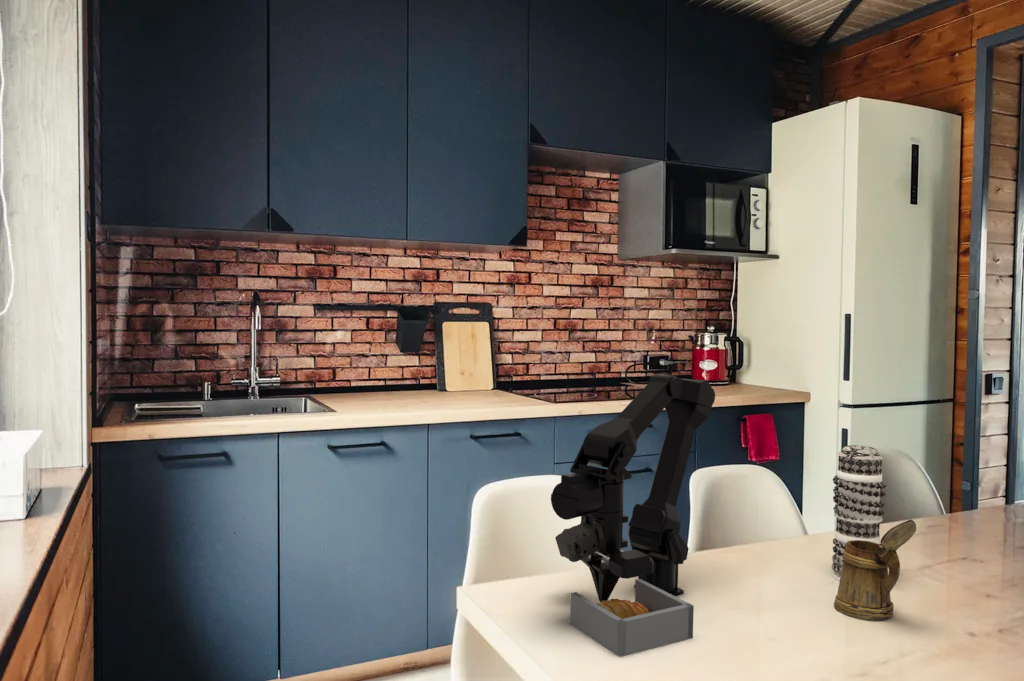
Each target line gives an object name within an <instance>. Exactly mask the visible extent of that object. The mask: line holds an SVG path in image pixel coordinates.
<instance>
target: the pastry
mask: <svg viewBox="0 0 1024 681" xmlns="http://www.w3.org/2000/svg"><path fill="white" fill-rule="evenodd" d="M596 604H597V605H599V606H601V607H602V608H604V609H606V610H608V611H609V612H611V613H613V614H614V615H616V616H618V617H619V618H621V619H624V618H629V617H633V616H637V615H642V614H646V613H649V610H648V609H647V608H646V607H645V606H644V605H643V604H641V603H639V602H635V601H632V600H628V599H619V598H609V599H608V600H602V601H601V602H600V601H599V602H596Z"/></svg>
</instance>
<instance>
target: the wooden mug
mask: <svg viewBox="0 0 1024 681" xmlns="http://www.w3.org/2000/svg"><path fill="white" fill-rule="evenodd" d="M916 532H917V524H916V522H915V521H914V520H913V519H908V520H906V521H903V522H901V523H899V524H897V525H895V526H893V527H891V528H890V529H888V531H887V532H886V533H885V534H883V535H882V537H881V538H880V544H881V545H880V544H877V543H874V542H870V541H862V540H853V541H848V542H847V545H846V550H844V553H843V557H842V558H843V560H844V561H843V566H842V572H841V577H840V581H839V582H838V587H837V588H838V589H837V593H836V595H835V598H834V603H833V607H834V608H835V610H836V611H838V612H839V613H841V614H844V615H846V616H849V617H852V618H855V619H859V620H865V621H883V620H888V619H891V617H893V615H894V603H893V601H891V591H892V590H893V588H894V587H895V586H896V584H897V582H898V580H899V577H900V573H901V562H900V559H899V558H900V557H899V555H898V553H897V552H898V551H897V550H898V549H900V547H901V546H904V545H905V544H906V543H908V541H909V540H911V538H912V537H913V536H914V535H915V533H916Z"/></svg>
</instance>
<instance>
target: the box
mask: <svg viewBox="0 0 1024 681" xmlns="http://www.w3.org/2000/svg"><path fill="white" fill-rule="evenodd" d="M634 582H635V583H634V585H635V588H634V602H639V603H641V604H643V605H644V606H645V607H646V608H647V609H648V610H649V613H646V614H642V615H637V616H633V617H629V618H624V619H621V618H619V617H618V616H616V615H614V614H613V613H611V612H609V611H608V610H606V609H604V608H602V607H601V606H599V605H597V604H596V603H597V602H596V603H595V602H594V601H592V600H591V599H589V598H588V597H586V596H584V595H582V594H580V593H579V592H577V591H573V592H570V608H569V611H570V617H569V619H570V620H569V624H570V625H572V626H573V627H575V628H576V629H577V630H579V631H581V632H582V633H584V634H585V635H587V636H588V637H590V638H591V639H592V640H594V641H595V642H597V643H598V644H600V645H601V646H603V647H604V648H606V649H608V650H609V651H610V652H612V653H614V654H615V655H616V656H619V657H625V656H627V655H631V654H635V653H640V652H642V651H646V650H649V649H654V648H659V647H661V646H662V647H663V646H666V645H670V644H674V643H677V642H680V641H684V640H688V639H689V640H690V639H692V638H694V609H695V608H694V607H695V605H693V604H692V603H689V602H688V601H685V600H683V599H681V598H679V597H677V596H676V595H674V596H673V595H671V594H669V593H667V592H665V591H663V590H661V589H659V588H657V587H655V586H653V585H651V584H649V583H647V582H645V581H643V580H641V579H638V578H637V579H634Z"/></svg>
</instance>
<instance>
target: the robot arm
mask: <svg viewBox="0 0 1024 681" xmlns="http://www.w3.org/2000/svg"><path fill="white" fill-rule="evenodd" d="M715 400H716V391H715V390H714V388H713V387H712V385H711V383H710V382H709V381H707V380H703V379H702V380H699V379H690V378H680V377H677V376H675V375H668V374H667V375H666V374H655V375H652V376H650V378H649V379H648V382H647V384H646V385H645V386H644V388H643V389H641V391H640V392H638V394H636V396H635V397H634V398H633V400H631V401H630V402H629V404H627V406H626V407H625V408H624V409H623V410H622V411H621V412H620V413H619V414H618V415H617V416H616V417H615V418H613V419H612V420H609V421H606V422H603V423H601V424H599V425H598V426H596V427H595V428H593V429H592V430H591V431H590V432H587V435H586V436H585V438H584V439H583V441H582V444H581V447H580V448H579V451H578V452H577V454H576V457H575V458H574V461H573V463H572V466H570V469H569V472H570V474H569V473H565V474H562V475H561V476H560V477H561V478H560V482H559V483H557V484H556V485H555V486H554V488H553V490H552V492H551V495H550V503H551V507H552V510H553V511H554V512H555V514H556V516H558V517H559V518H560V519H562V520H567V521H568V520H572V519H576V518H579V517H580V523H578V524H577V525H574V526H571V527H570V528H564V529H563V530H562V532H560V533H559V534H557V535H555V541H556V544H557V548H558V552H559V555H560V557H562V558H566V559H568V561H570V562H571V563H577V562H579V561H581V562H582V563H584V565H586V567H588V568H589V571H590V575H591V577H592V580H593V584H594V588H595V590H596V591H595V592H596V595H597V598H598V601H599V603H600V602H601V601H602V600H610V596H611V595H612V593H613V591H614V590H615V588H616V585H617V584H618V582H619V580H620V579H624V580H625V579H626V580H627V579H632V578H637V577H638V578H637V579H641V580H643V581H645V582H647V583H649V584H651V585H653V586H655V587H657V588H659V589H661V590H663V591H665V592H667V593H669V594H671V595H673V596H677V595H681V594H685V593H684V592H685V590H684V589H682V588H680V587H679V586H678V585H679V565H683V564H684V562H685V561H686V560H687V559H688V554H689V547H688V545H687V543H686V542H685V541H684V539H683V538H682V536H681V534H680V530H681V520H680V517H679V513H678V509H677V502H678V498H679V496H680V492H681V488H682V484H683V480H684V475H685V472H686V467H687V464H688V460H689V457H690V452H691V449H692V445H693V442H694V438H695V433H696V430H697V429H698V428H699V427H700V426H701V425H702V424H703V423H704V422H705V421H706V420H707V419H708V418H709V416H710V413H711V410H712V408H713V405H714V403H715ZM663 410H665V412H666V416H667V420H668V424H667V428H666V431H665V436H664V439H663V443H662V446H661V450H660V453H659V458H658V461H657V466H656V468H655V473H654V476H653V480H652V484H651V488H650V492H649V494H648V498H647V499H645V501H644V502H643V503H642V504H641V503H635V505H634V507H633V509H632V514H631V518H630V521H629V515H626V514H625V513H624V487H625V486H624V481H626V480H627V481H628V480H629V479H630V480H631V479H632V478H633V477H632V476H633V475H632V474H631V473H630V472H629V471H628V470H627V469H626V467H627V466H628V465H629V463H630V462H631V460H632V459H633V456H634V455H635V454H636V452H637V450H638V449H637V447H638V445H637V444H638V439H639V438H640V436H641V435H642V434H643V433H644V432H645V431H646V430H647V428H648V427H649V426H650V425H651V424H652V423H653V422H654V421H655V419H657V417H658V416H659V415H660V414H661V413H662V411H663ZM588 464H589V465H588ZM624 523H626V524H627V523H628V538H629V541H628V540H626V539H624V538H623V527H624V526H623V524H624ZM628 542H630V545H631V550H626V551H625V550H623V549H624V548H628ZM633 588H634V589H635V584H633Z"/></svg>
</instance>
